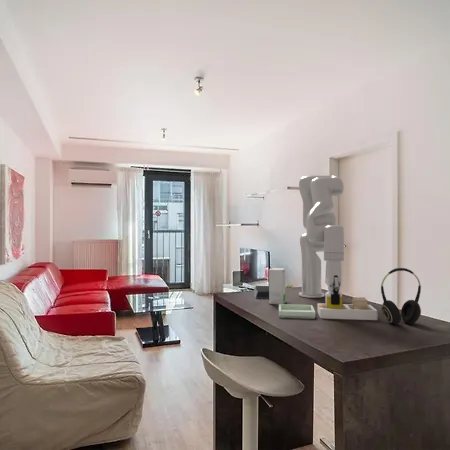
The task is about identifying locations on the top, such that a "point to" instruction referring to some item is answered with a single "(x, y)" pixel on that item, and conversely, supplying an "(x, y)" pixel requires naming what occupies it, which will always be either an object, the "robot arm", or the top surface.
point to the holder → (347, 312)
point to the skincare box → (277, 286)
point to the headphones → (409, 309)
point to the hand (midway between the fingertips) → (333, 302)
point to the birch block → (359, 303)
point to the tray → (296, 311)
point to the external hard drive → (261, 292)
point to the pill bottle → (328, 300)
